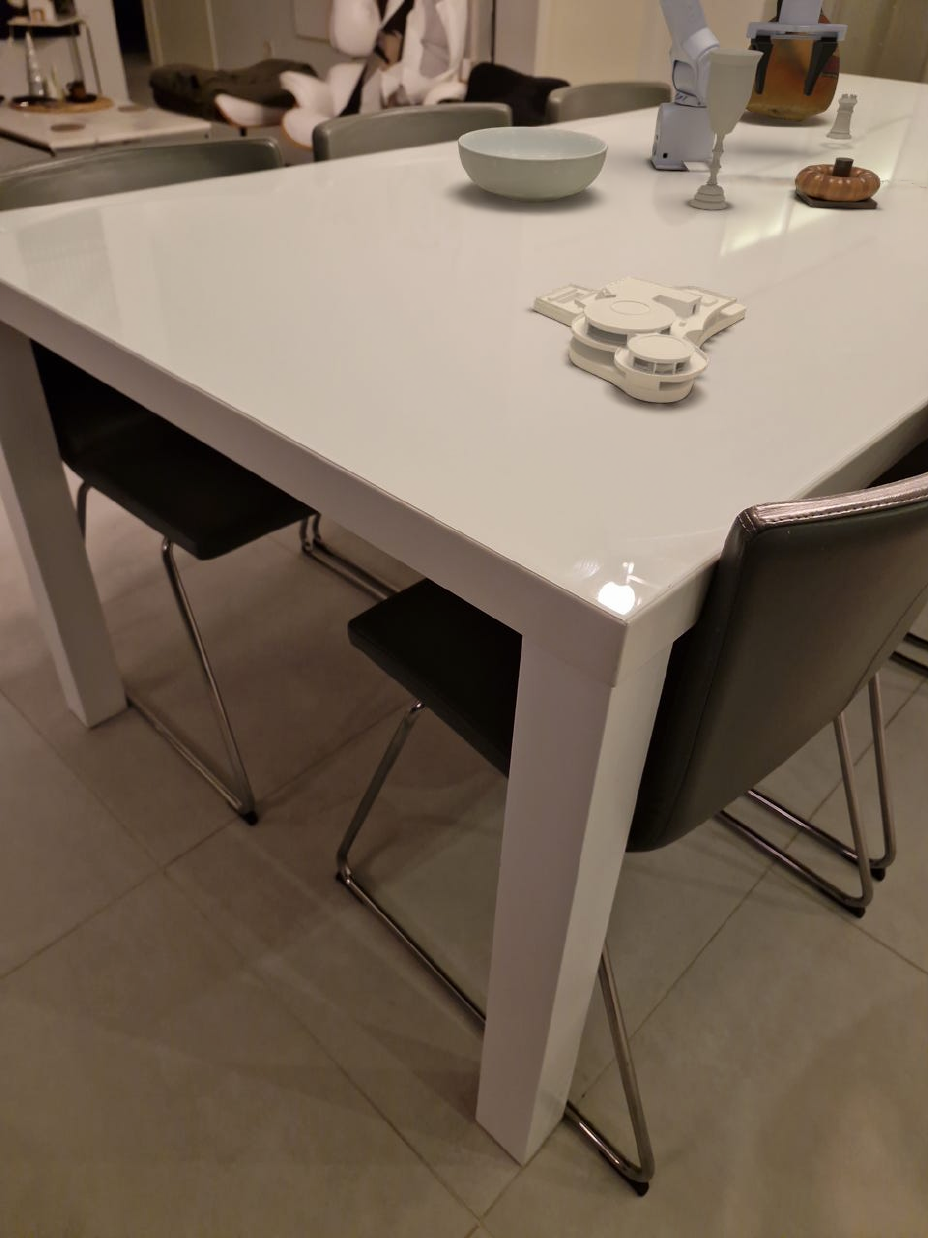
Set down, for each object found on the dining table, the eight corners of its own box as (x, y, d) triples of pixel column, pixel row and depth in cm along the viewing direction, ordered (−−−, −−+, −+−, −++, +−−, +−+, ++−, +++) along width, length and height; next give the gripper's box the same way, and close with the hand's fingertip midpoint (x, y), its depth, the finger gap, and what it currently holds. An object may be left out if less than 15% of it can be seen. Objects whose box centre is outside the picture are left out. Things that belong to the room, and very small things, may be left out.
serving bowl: (431, 200, 120) (430, 144, 116) (496, 171, 134) (498, 121, 130) (569, 221, 113) (574, 163, 108) (623, 188, 127) (629, 136, 123)
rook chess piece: (845, 144, 156) (859, 93, 151) (852, 149, 153) (866, 97, 148) (820, 143, 157) (833, 92, 152) (826, 148, 153) (839, 96, 148)
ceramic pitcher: (838, 117, 179) (885, -67, 160) (813, 132, 165) (861, -67, 146) (746, 107, 186) (780, -70, 168) (715, 120, 173) (748, -70, 154)
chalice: (734, 213, 117) (765, 56, 106) (683, 209, 118) (709, 53, 107) (732, 199, 123) (761, 49, 111) (683, 196, 124) (708, 47, 112)
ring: (805, 202, 119) (811, 178, 117) (785, 183, 128) (790, 161, 126) (886, 204, 119) (894, 181, 117) (861, 185, 128) (867, 163, 126)
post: (811, 206, 121) (821, 165, 117) (794, 191, 128) (804, 151, 124) (875, 208, 120) (888, 166, 117) (855, 193, 127) (866, 153, 124)
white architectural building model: (805, 332, 83) (818, 285, 80) (668, 416, 68) (678, 361, 65) (609, 279, 94) (615, 236, 92) (457, 340, 80) (457, 291, 77)
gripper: (762, -12, 125) (742, 96, 134) (863, -10, 125) (836, 98, 133) (752, -15, 130) (732, 89, 139) (848, -13, 130) (823, 91, 139)
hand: (782, 93), depth 136 cm, fingers open, 7 cm apart
